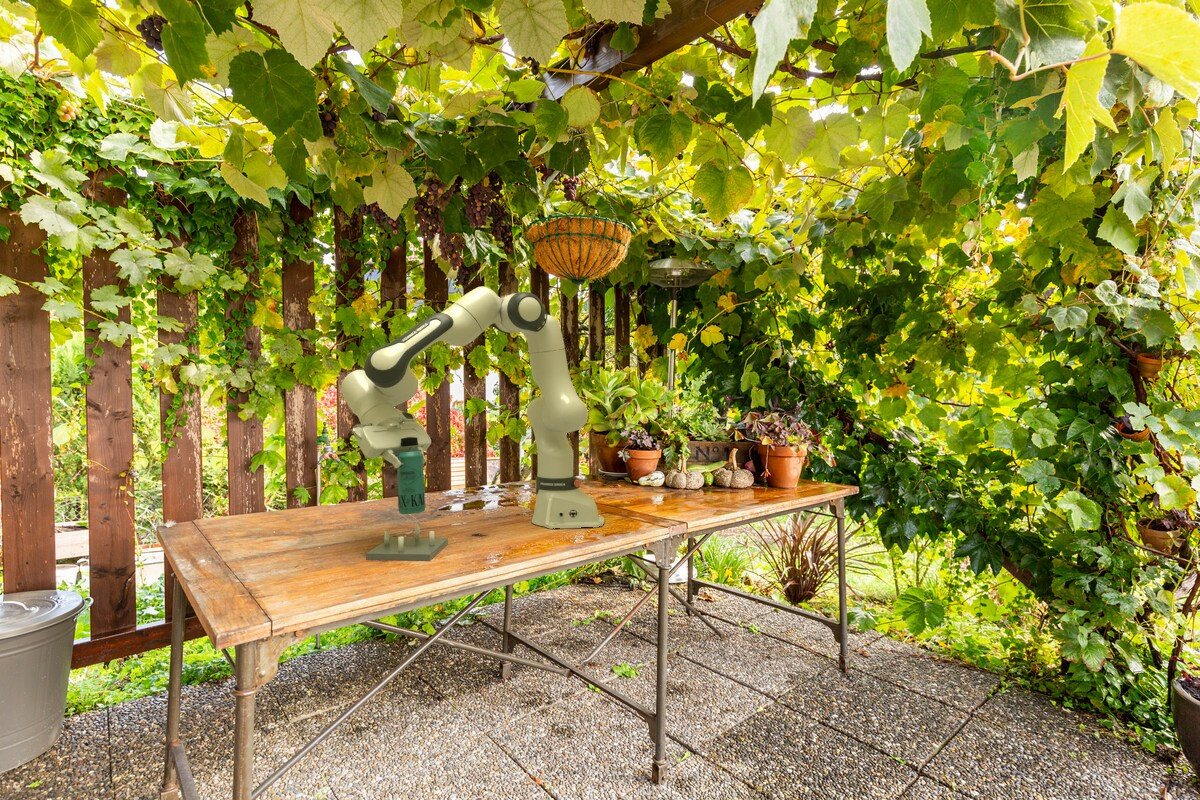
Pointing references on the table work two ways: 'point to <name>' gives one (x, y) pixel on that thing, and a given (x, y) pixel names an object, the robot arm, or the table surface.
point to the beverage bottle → (411, 479)
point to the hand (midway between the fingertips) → (412, 464)
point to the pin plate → (407, 547)
